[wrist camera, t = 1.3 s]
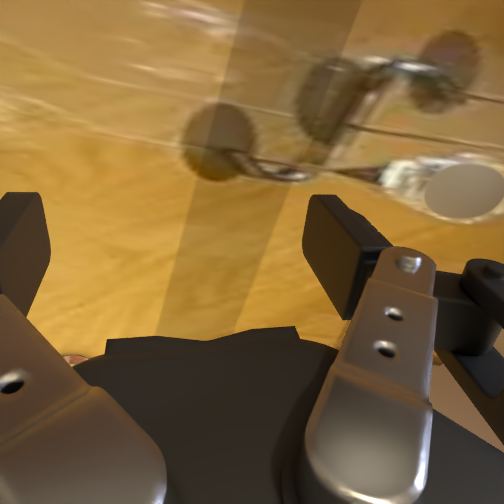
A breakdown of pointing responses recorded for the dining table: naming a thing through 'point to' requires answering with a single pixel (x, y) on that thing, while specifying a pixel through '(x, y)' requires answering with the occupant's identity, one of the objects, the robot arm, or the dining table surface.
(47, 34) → the dining table surface
